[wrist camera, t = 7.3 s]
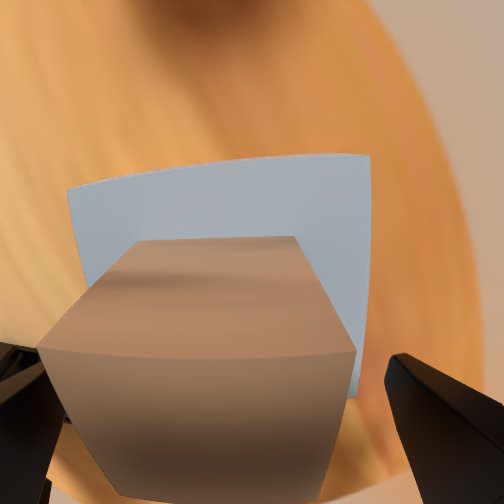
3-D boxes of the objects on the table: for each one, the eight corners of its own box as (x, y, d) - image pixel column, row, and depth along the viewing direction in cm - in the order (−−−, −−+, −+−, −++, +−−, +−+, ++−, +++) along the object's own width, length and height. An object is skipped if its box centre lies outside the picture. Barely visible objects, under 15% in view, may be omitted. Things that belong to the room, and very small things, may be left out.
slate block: (335, 347, 16) (356, 397, 12) (153, 361, 16) (134, 412, 12) (334, 153, 13) (369, 155, 9) (110, 177, 13) (66, 189, 9)
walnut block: (289, 363, 11) (316, 501, 6) (159, 364, 11) (119, 495, 6) (293, 235, 10) (357, 349, 4) (137, 241, 10) (36, 346, 4)
